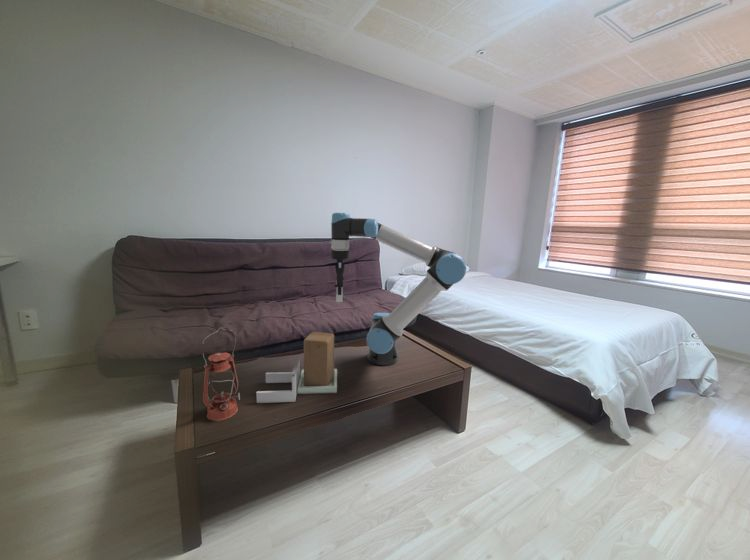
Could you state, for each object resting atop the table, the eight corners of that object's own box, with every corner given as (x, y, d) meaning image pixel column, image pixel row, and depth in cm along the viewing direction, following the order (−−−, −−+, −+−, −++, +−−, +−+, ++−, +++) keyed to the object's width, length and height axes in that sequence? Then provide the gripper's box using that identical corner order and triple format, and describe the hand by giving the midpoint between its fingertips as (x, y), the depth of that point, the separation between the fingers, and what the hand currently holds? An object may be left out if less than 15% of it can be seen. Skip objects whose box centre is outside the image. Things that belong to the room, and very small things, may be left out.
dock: (300, 380, 126) (299, 356, 124) (295, 401, 111) (294, 374, 109) (266, 381, 124) (265, 357, 122) (256, 402, 109) (255, 375, 107)
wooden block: (327, 390, 119) (327, 341, 115) (302, 387, 120) (302, 339, 116) (334, 377, 128) (335, 332, 125) (311, 374, 130) (311, 330, 126)
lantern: (214, 403, 108) (209, 323, 103) (244, 403, 109) (240, 323, 104) (201, 421, 99) (195, 333, 93) (234, 420, 99) (229, 333, 94)
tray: (336, 374, 133) (337, 368, 132) (336, 392, 118) (336, 387, 117) (302, 374, 131) (301, 369, 130) (297, 394, 116) (297, 388, 116)
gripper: (331, 247, 141) (331, 291, 145) (330, 252, 116) (329, 305, 120) (347, 247, 142) (346, 291, 146) (350, 252, 117) (348, 305, 121)
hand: (339, 298), depth 133 cm, fingers open, 13 cm apart
